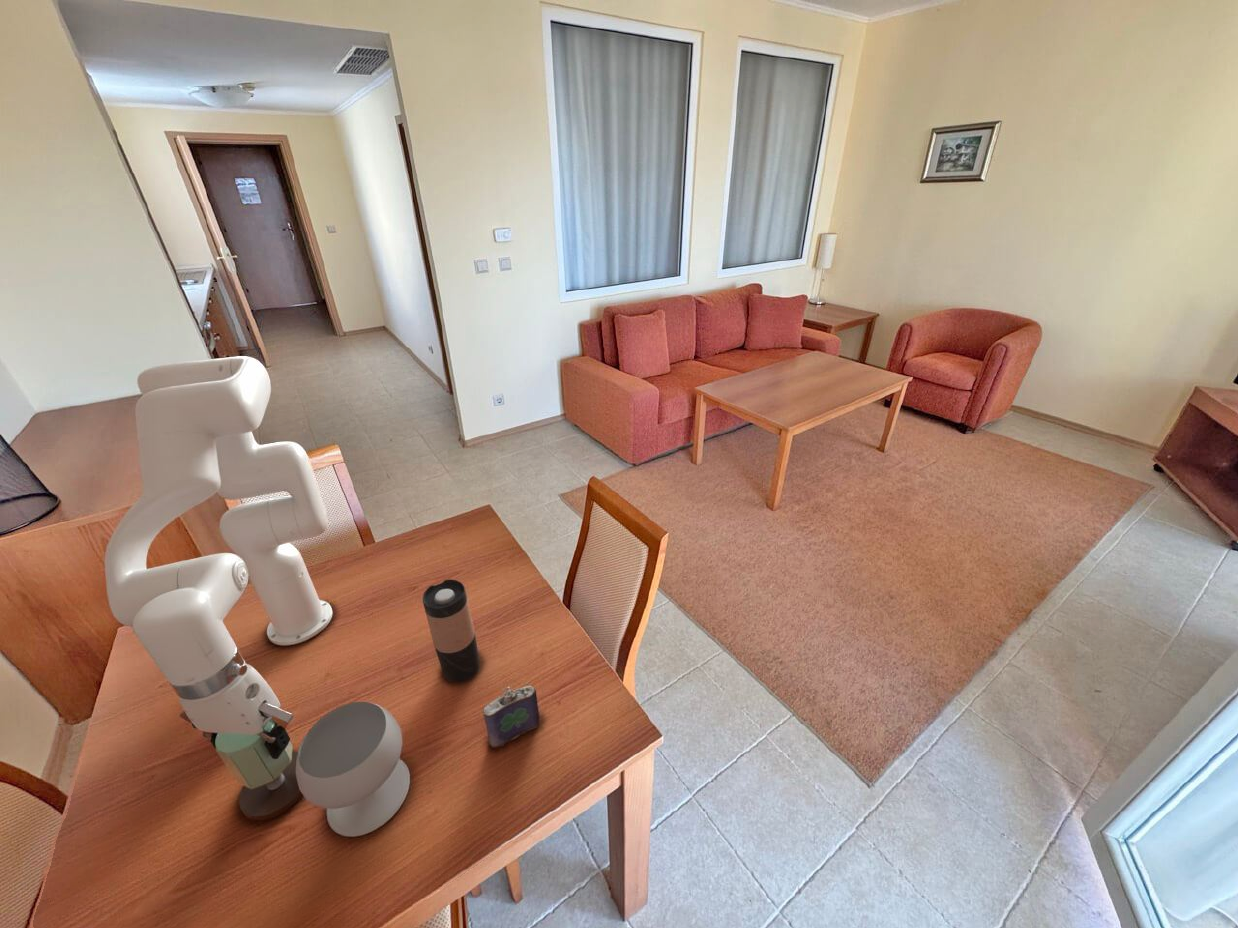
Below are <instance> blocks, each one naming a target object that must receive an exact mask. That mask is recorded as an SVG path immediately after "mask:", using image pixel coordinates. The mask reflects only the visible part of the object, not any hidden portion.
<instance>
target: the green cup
mask: <svg viewBox="0 0 1238 928" xmlns="http://www.w3.org/2000/svg"><path fill="white" fill-rule="evenodd" d="M262 717H263V716H262ZM274 726H275V725H274V724H272V723H271V722H269V721H268V723H267V724H266V725H265V727H264V729H265V730H267V731H268V732H270V731H271V729H272V728H273V727H274ZM265 741H266V740H264V739H263V738H261V737H260V736H258V735H257V734H254V735H243V734H226V733H218V734H217V736H216V740H215V745H216V749H215V752H216V753H217V755H218V756H219V757H220V759H221V760H222V762H223V763H224V765H225V767H226V768H227V769H228V771H229V772H230V773H231V775H232V776H233V778H234V779H235V781H236V782H237V784H239V785H241V786H242V787H243V786H246V787H248V788H250V789H254V788H257V787H259V786H262V785H264V784H267V783H269V782H272V781H274V779H276V778H277V777H278V776H279V775H280V774H281V773H282V772H283V770H284V769H285V768H286V767H287V766H288V765H289V764H290V763H291V759H292V751H293V747H294V746H293V744H292V742H291V740H290V741H289V743H288V745H287V747H286V748H285V749H284V750H283V752H282V753H281V755H280V756H279V758H278V759H273V758H272V757H271V755H270V753H269V752H268V750H267V748H266V747H265V745H264V743H265Z"/></svg>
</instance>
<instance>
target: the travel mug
mask: <svg viewBox="0 0 1238 928" xmlns="http://www.w3.org/2000/svg"><path fill="white" fill-rule="evenodd" d="M422 604H423V607H424V611H425V615H426V619H427V623H428V628H429V631H430V635H431V638H432V642H433V643H432V644H433V646H434V649H435V652H436V655H437V658H438V662H439V665H440V667H441V671H442V674H443V676H444V678H445V679H446V680H447V681H448V682H451V683H463V682H467V681H468V680H470V679H471V678H473V677H474V676H475V675H476V674H477V672H478V671H479V669H480V655H479V650H478V644H477V643H478V642H477V637H476V632H475V627H474V622H473V619H472V614H471V609H470V605H469V601H468V596H467V592H466V588H465V586H464V584H463V583H462V582H461V581H459V580H456V579H444V580H443V581H442V582H441V583H438V584H432V585H430V586H429V587H427V588H426V590H425V591H424V592H423V594H422Z"/></svg>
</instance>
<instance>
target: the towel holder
mask: <svg viewBox="0 0 1238 928" xmlns="http://www.w3.org/2000/svg"><path fill="white" fill-rule="evenodd" d="M298 752H299V751H296V750H295V751H294V750H292V759H291V763H290V764H289V765H288V766H287V767H286V768H285V769H284V770H283V772H282V773H281V774H280V775H279V776H278V777H277V778H276V779H274V781H272V782H269V783H267V784H264V785H262V786H259V787H257V788H254V789H250V788H248V787H246V786H243V785H242V787H241V790H240V792H239V795H238V806H239V808H240V811H241V812H242V813H243V814H244V816H245V817H247V818H248V819H250V820H253V821H264V820H265V821H266V820H269V819H272V818H275V817H277V816H279V815H281V814H283V813H285V812H286V811H287V810H290V809H291V808H292V807H293V806H294V805H295V804H297V803H298V801H299V800H300V799H301V798H302V797H304V796H303V794H302V793H301V791H300V789H299V786H298V782H297V777H296V760H297V755H298Z"/></svg>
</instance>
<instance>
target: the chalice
mask: <svg viewBox="0 0 1238 928" xmlns="http://www.w3.org/2000/svg"><path fill="white" fill-rule="evenodd" d="M402 748H403V733H402V729H401V727H400V725H399V722H398V721H397V719H396V718H395V717H394V716H393V715H392V713H390V711H389V710H388V709H386V708H385V707H383V706H381V705H380V704H377V703H375V702H370V701H354V702H350V703H346V704H343V705H340V706H338V707H336V708H334V709H332V710H331V711H329V712H327V713H326V714H325V715H324V716H322V717H321V718H319V719H318V720H317V721H316V722H315V723H314V724H313V725H312V726H311V728H310V729H309V730H308V731H307V733H306V734H305V736H304V738H303V739H302V741H301V743H300V745H299V748H298V751H297V752H298V755H297V760H296V777H297V782H298V786H299V789H300V791H301V793H302V794H303V796H302V797H303V798H304V799H305V800H306V801H307V802H309V803H310V804H312V805H313V806H316V807H318V808H322V809H326V812H325V813H326V819H327V823H328V825H329V827H330V829H331V830H332V831H334V832H335V833H336V834H339V835H341V836H343V837H352V838H353V837H358V836H364V835H366V834H368V833H371V832H374V831H375V830H377V829H379V828H380V827H382V826H383V825H385V824H386V823H387V822H388V821H389V820H390V819H391V818H393V816H394V815H395V814H396V813H397V812H398V811H399V810H400V808H401V806H402V805H403V803H404V801H405V800H406V797H407V795H408V793H409V788H410V783H411V775H410V770H409V767H408V766H407V764H406V763H405V761H404V760H402V759H401V755H402V754H401V753H402Z"/></svg>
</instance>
